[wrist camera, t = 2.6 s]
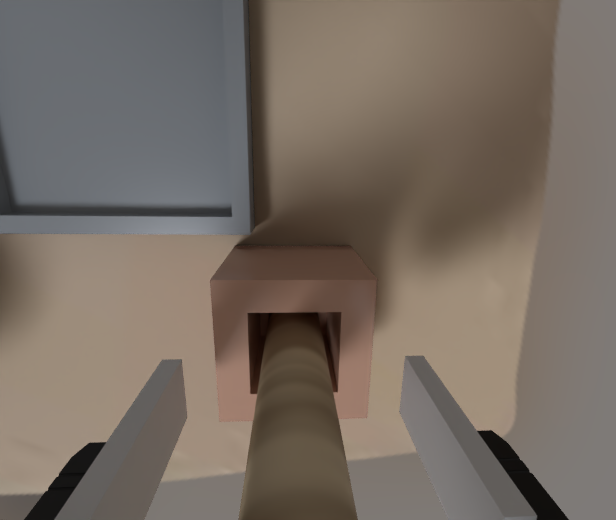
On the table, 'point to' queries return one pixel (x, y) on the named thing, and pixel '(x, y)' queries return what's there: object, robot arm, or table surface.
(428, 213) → the table surface
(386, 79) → the table surface
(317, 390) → the dowel
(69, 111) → the tray
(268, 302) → the pink square tube
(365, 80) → the table surface
